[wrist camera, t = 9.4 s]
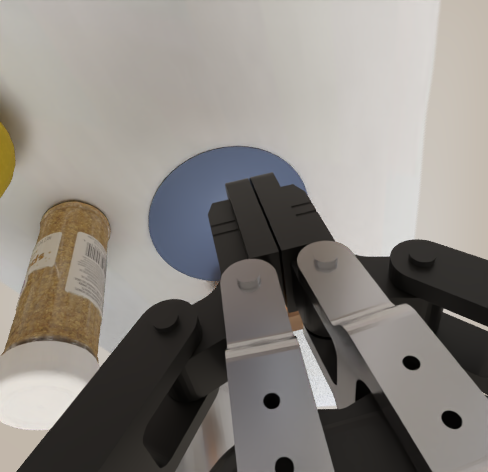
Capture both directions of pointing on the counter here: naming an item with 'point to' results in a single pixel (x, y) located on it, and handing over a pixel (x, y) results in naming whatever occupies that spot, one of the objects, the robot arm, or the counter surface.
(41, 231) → the sprinkles bottle
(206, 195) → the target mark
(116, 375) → the robot arm
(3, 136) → the lemon
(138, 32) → the counter surface
